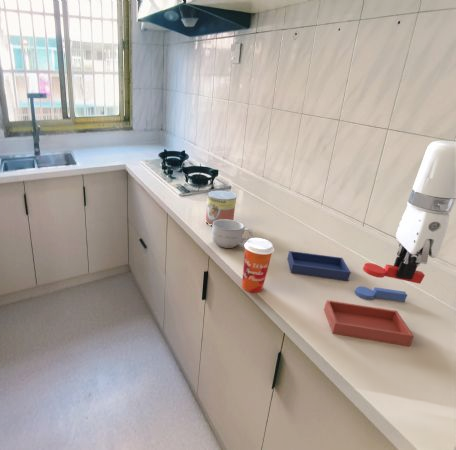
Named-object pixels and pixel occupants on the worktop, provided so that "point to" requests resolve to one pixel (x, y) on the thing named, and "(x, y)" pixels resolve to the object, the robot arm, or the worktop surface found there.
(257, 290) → the paper cup
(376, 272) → the red spoon
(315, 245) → the worktop surface
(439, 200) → the robot arm
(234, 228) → the teacup
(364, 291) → the blue spoon
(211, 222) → the canned food
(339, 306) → the red tray
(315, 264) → the blue tray
